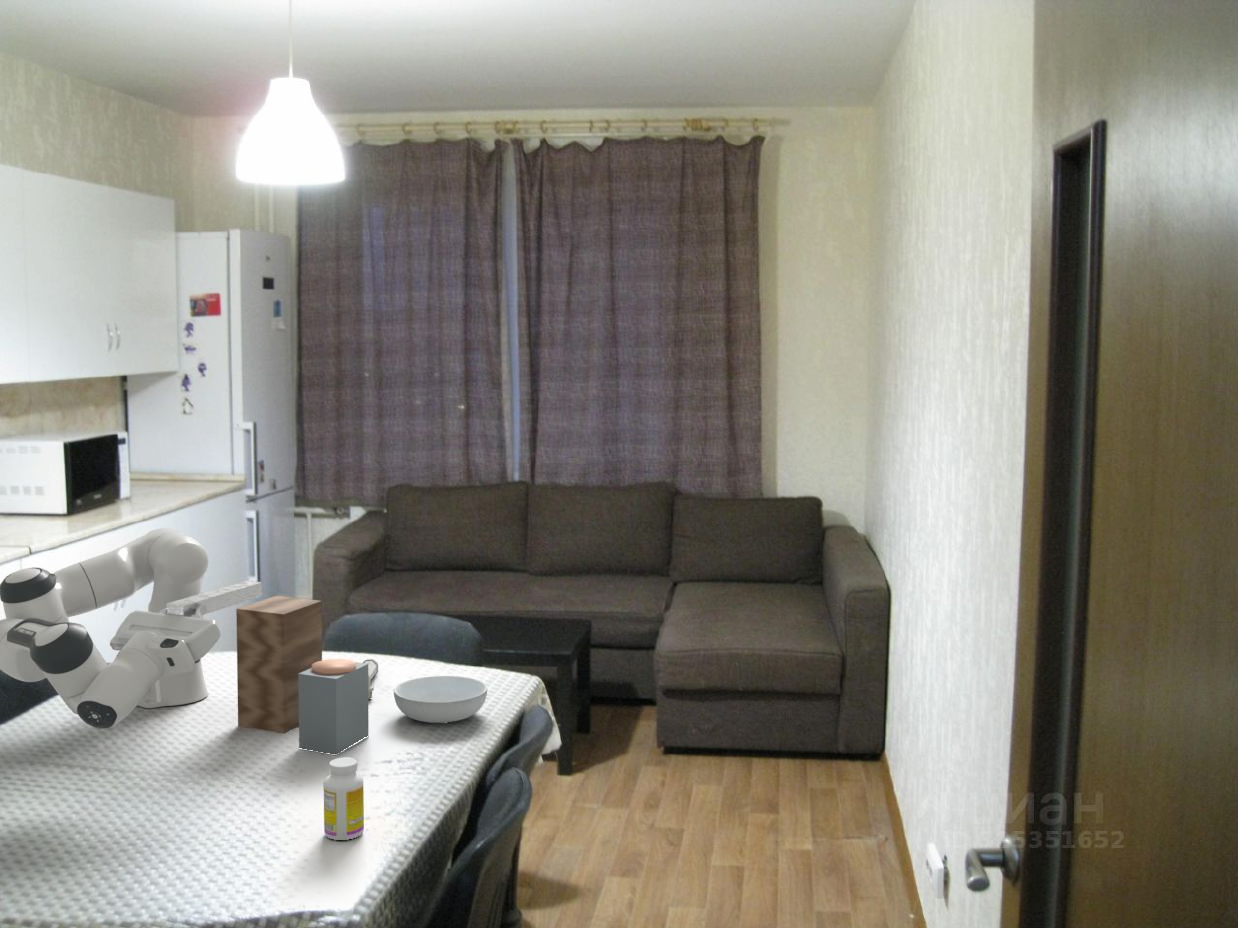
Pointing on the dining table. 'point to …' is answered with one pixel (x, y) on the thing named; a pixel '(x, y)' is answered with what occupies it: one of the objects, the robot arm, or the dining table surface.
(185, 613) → the white bar
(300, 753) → the dining table surface
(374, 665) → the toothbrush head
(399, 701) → the serving bowl
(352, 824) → the supplement bottle
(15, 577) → the robot arm
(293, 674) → the stand
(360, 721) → the low block
